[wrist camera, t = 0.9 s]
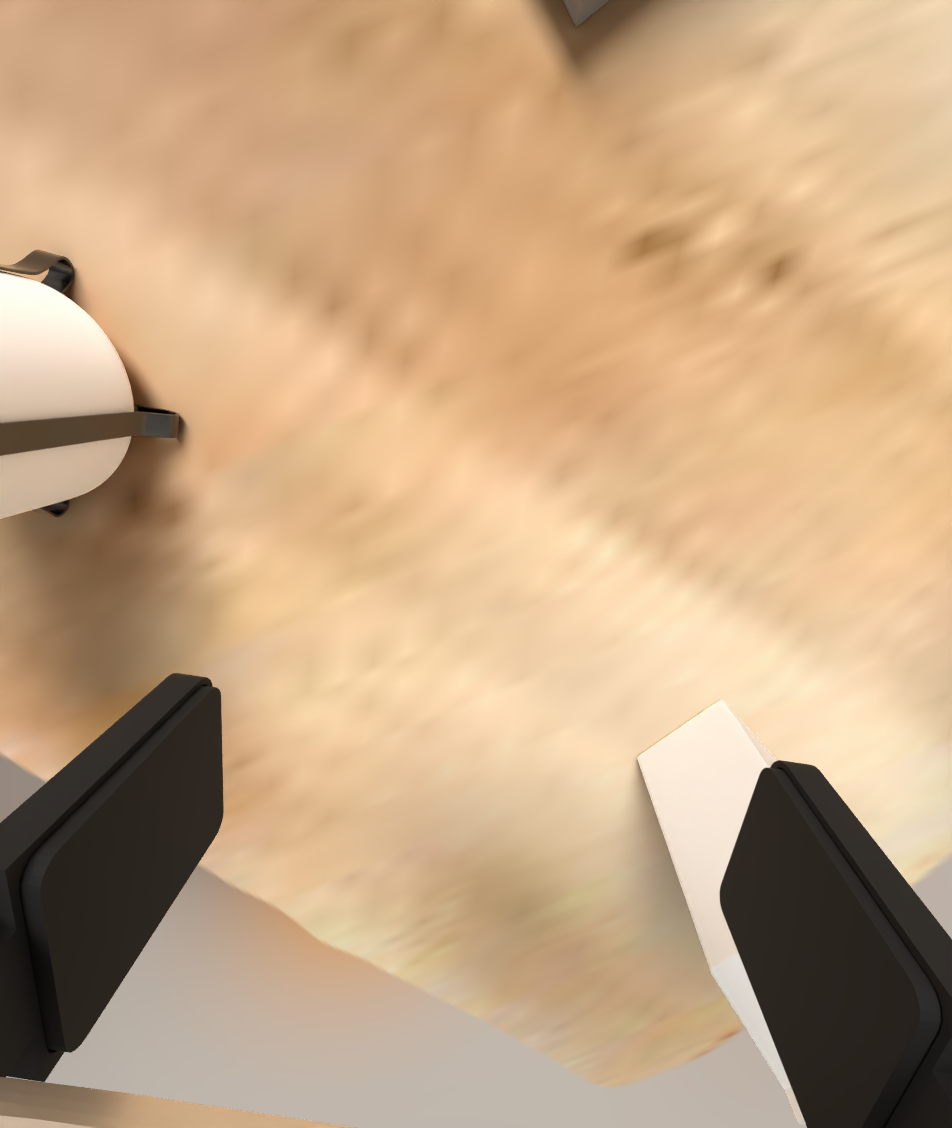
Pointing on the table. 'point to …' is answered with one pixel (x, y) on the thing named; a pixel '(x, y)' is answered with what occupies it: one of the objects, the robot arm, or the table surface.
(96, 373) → the coffee press
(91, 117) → the table surface
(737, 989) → the milk carton
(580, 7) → the key console
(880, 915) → the robot arm
